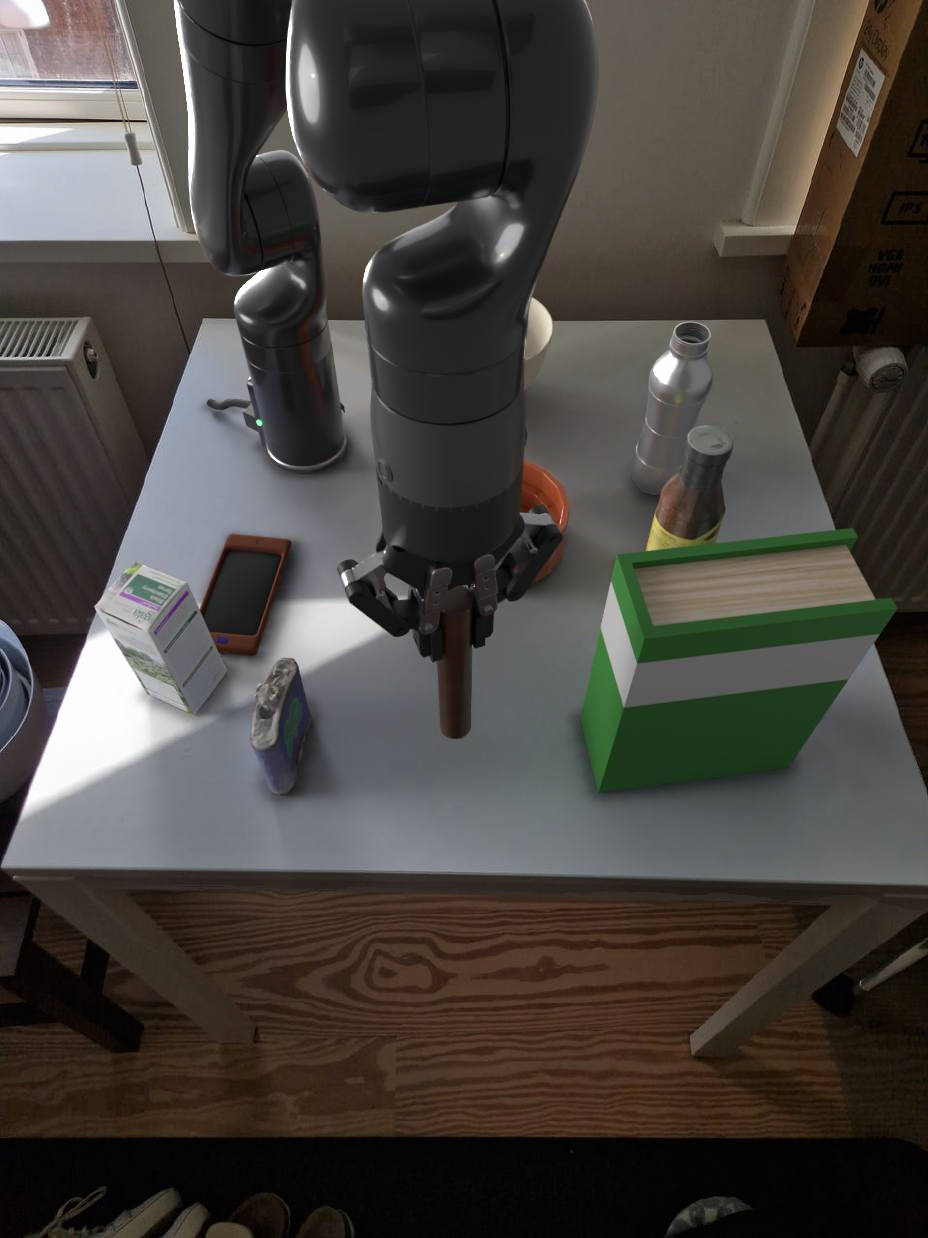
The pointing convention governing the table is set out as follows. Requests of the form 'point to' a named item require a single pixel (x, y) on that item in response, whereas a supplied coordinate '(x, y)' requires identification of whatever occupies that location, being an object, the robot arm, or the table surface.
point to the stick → (456, 664)
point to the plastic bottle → (672, 407)
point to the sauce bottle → (693, 493)
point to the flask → (280, 725)
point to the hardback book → (724, 656)
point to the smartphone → (243, 591)
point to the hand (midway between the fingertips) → (453, 643)
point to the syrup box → (162, 636)
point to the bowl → (537, 340)
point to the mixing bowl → (551, 494)
